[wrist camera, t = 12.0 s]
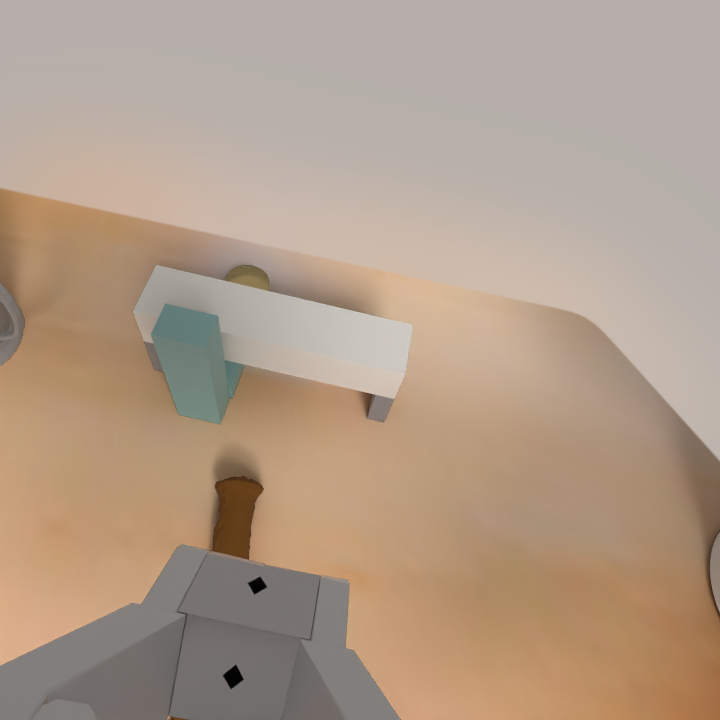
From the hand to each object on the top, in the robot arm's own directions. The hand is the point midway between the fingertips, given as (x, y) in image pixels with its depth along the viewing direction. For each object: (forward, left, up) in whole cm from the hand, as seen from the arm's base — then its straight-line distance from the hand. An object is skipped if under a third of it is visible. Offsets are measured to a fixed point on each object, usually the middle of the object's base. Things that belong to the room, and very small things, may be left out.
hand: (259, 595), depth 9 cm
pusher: (+10, -21, -31) cm, 39 cm away
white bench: (+5, -21, -31) cm, 38 cm away
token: (+10, -29, -32) cm, 44 cm away
